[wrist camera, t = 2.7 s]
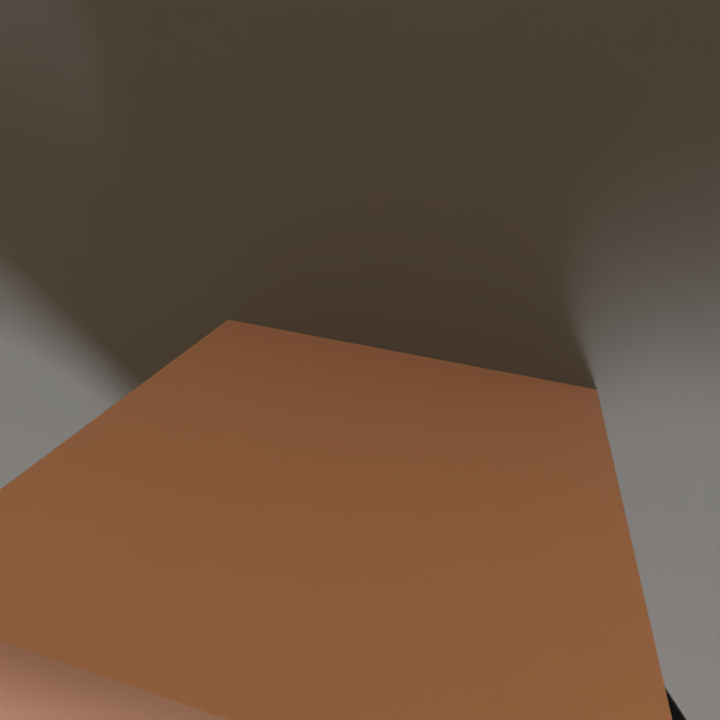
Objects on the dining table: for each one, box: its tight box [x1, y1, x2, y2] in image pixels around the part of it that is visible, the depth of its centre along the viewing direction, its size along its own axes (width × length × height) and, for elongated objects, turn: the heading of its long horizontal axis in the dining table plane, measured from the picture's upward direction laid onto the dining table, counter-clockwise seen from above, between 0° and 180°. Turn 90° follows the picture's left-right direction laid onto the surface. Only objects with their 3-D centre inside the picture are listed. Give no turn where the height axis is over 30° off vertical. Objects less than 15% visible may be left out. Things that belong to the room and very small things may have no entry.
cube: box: [0, 320, 672, 720], centre depth 6 cm, size 5×5×5 cm
